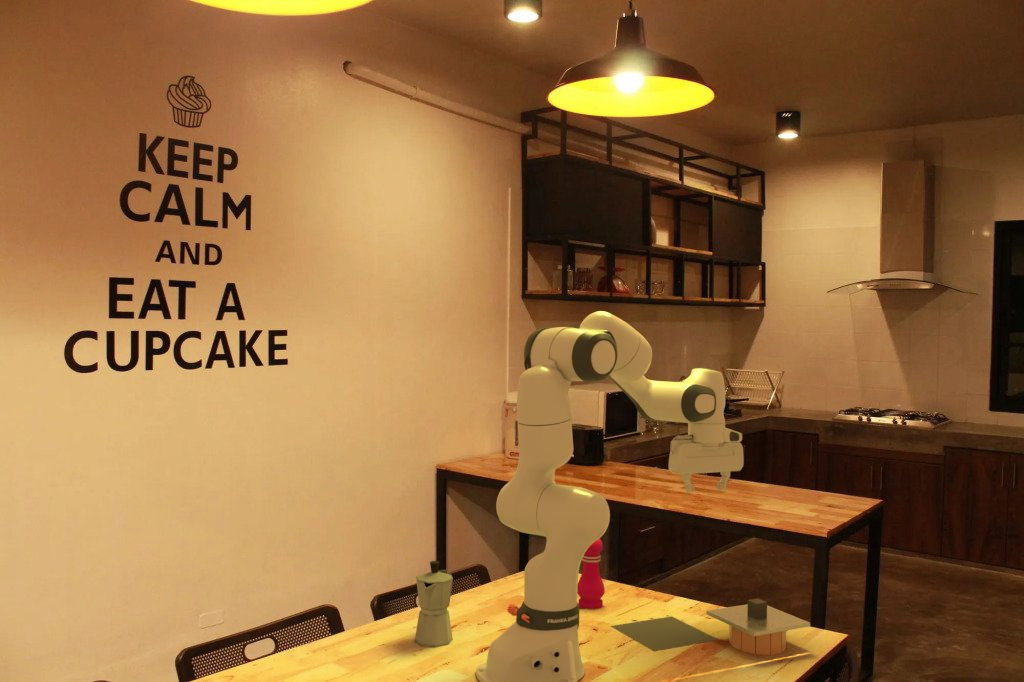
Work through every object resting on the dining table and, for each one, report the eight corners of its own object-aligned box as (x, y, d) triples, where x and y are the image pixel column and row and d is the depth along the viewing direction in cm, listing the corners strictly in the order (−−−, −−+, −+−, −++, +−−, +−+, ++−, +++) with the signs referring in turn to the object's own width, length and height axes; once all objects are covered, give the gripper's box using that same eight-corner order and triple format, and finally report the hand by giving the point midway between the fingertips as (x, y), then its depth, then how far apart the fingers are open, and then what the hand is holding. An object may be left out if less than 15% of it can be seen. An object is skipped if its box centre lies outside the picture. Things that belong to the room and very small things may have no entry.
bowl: (754, 659, 182) (755, 632, 182) (718, 641, 193) (719, 615, 193) (796, 651, 187) (797, 624, 187) (759, 634, 198) (759, 609, 198)
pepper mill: (582, 612, 213) (583, 533, 213) (572, 603, 220) (573, 527, 220) (608, 610, 215) (609, 532, 215) (598, 601, 222) (599, 526, 222)
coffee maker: (444, 651, 184) (445, 570, 185) (406, 648, 186) (407, 567, 186) (462, 629, 199) (462, 553, 199) (426, 626, 201) (427, 551, 201)
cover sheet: (753, 636, 179) (754, 616, 179) (706, 614, 194) (706, 595, 194) (810, 626, 186) (810, 606, 186) (759, 605, 200) (760, 587, 200)
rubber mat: (653, 653, 185) (653, 651, 185) (610, 628, 201) (610, 626, 201) (718, 641, 193) (718, 639, 193) (671, 618, 209) (671, 616, 209)
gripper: (679, 437, 197) (678, 495, 197) (747, 434, 206) (747, 490, 206) (663, 434, 203) (662, 491, 203) (730, 431, 212) (730, 486, 211)
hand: (705, 490), depth 204 cm, fingers open, 8 cm apart
